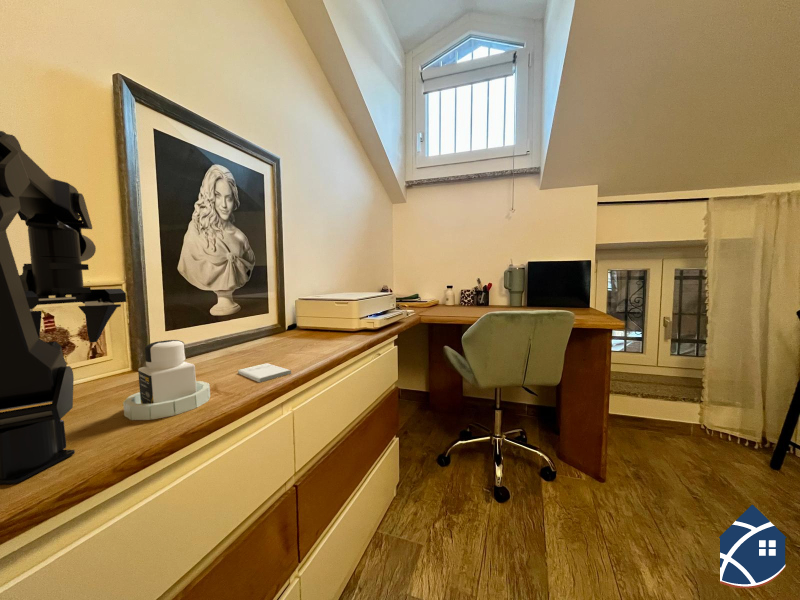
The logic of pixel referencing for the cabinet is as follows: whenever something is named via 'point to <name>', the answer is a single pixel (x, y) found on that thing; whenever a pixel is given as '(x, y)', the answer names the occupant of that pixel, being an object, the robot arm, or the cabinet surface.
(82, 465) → the cabinet surface
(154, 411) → the pale green round tray
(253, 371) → the external hard drive
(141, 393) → the medicine bottle
